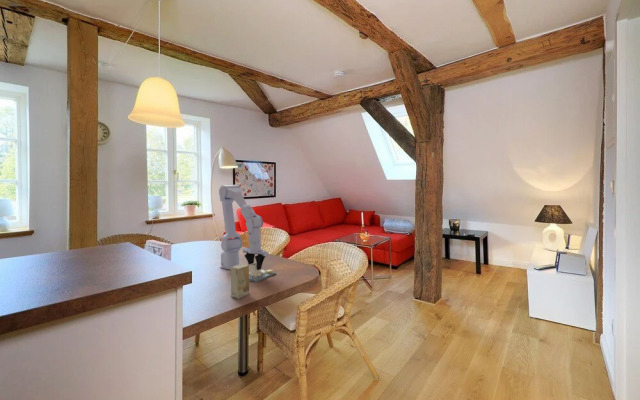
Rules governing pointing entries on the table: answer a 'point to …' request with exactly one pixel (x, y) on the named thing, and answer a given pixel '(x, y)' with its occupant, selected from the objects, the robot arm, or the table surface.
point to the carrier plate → (262, 276)
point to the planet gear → (255, 270)
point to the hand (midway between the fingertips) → (255, 268)
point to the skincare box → (239, 281)
